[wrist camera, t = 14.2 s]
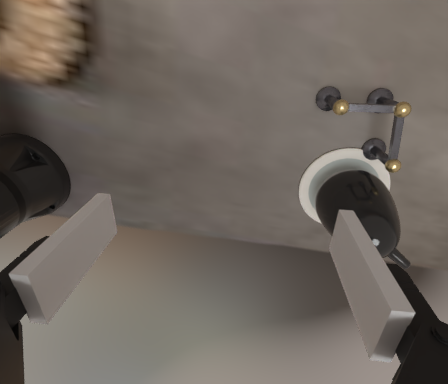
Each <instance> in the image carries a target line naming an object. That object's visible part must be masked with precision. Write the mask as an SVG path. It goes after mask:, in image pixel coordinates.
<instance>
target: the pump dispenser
mask: <svg viewBox="0 0 448 384" xmlns="http://www.w3.org/2000/svg"><path fill="white" fill-rule="evenodd" d="M315 210H316V213H317V216H318V218H319V220H320V221H321V223H322V224H323V226H324V227H325V228H326V230H327V231H328V232H329V233H330V234H331V236H333V232H334V228H335V224H336V219H337V215H338V211H339V210H353V211H354V212H355V214H356V216H357V217H358V219H359V221H360V222H361V224H362V226H363V227H364V229H365V231H366V232H367V234H368V235H369V237H370V239H371V240H372V242H373V244H374V245H375V247H376V249H377V250H378V252H379V254H380V255H381V257H382V258H385V257H387V256H388V257H389V258H390V259H392V260H393V261H394V262H396V263H397V264H398V265H399V266H401V267H402V268H404V269H406V268H408V267H409V266H410V262H409V261H408V260H407V259H406V258H405V257H404V256H403V255H402V254H401V253H400V252H399V251H398V250H397V249H396V247H397V245H398V243H399V240H400V232H401V229H400V220H399V215H398V211H397V208H396V205H395V202H394V200H393V198H392V196H391V194H390V192H389V190H388V188H387V187H386V185H385V184H384V183H383V182H382V181H381V179H379V178H378V177H377V176H376V175H374V174H372V173H370V172H367V171H364V170H352V169H350V170H343V171H339V172H337V173H334V174H333V175H331V176H329V177H328V178H327V179H326V180H325V181H324V182H323V183H322V185H321V186H320V188H319V190H318V192H317V194H316V198H315Z"/></svg>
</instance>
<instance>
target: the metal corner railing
mask: <svg viewBox="0 0 448 384" xmlns="http://www.w3.org/2000/svg"><path fill="white" fill-rule="evenodd" d="M340 99H341V96H340V92H339V91H338V90H337V89H336V88H334V87H325V88H323V89H321V90H320V91H319V92H318V94H317V96H316V103H317V106H318V107H319V108H320V109H322V110H324V111H330V110H333V111H334V113H335V114H337V115H344V114H345V113H347V111H357V112H375V113H381V112H382V113H394V122H393V128H392V135H391V141H390V148H389V154H388V155H387V154H386V153H385V151H386V145H385V143H384V142H383V141H382V140H380V139H377V138H374V139H370V140H368V141H367V142H365V143H364V145H363V147H362V150H363V155H364V157H365V158H367V159H369V160H376V159H378V160H380V161H381V162H382V163H383V164H384V165H385V168H386V170H387V171H388V172H391V173H394V172H397V171H399V170H400V168H401V162H400V161H399V160H397V158H398V153H399V147H400V141H401V135H402V129H403V123H404V117H406V116H407V115H409V114H410V112H411V105H410V104H409V103H407V102H400V103H399V102H396V101H394V100H393V94H392V92H391V91H390V90H388V89H384V88H379V89H376V90H374V91H373V92H372V93H371V94H370V95H369V96H368V99H367V104H358V103H348V102H347V101H346V100H340Z"/></svg>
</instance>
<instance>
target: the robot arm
mask: <svg viewBox="0 0 448 384" xmlns="http://www.w3.org/2000/svg"><path fill="white" fill-rule="evenodd" d="M69 192H70V180H69V176H68V173H67V171H66V169H65V167H64V165H63V163H62V162H61V160H60V159H59V158H58V157H57V155H56V154H55V153H54V152H53V151H52V150H51V149H49V148H48V147H47V146H46V145H44V144H43V143H41V142H40V141H38V140H36V139H34V138H31V137H29V136H25V135H21V134H7V135H3V136H0V238H1V237H3V236H4V235H5V234H7V233H8V232H9V231H11V230H12V229H13V228H15V227H16V226H17V225H19V224H20V223H22V222H25V221H28V220H31V219H34V218H37V217H41V216H44V215H47V214H50V213H52V212H53V211H55V210H56V209H57V208H59V207H60V206H61V205H62V204H63V203H64V202H65V201H66V200H67V198H68V196H69ZM116 234H117V227H116V222H115V217H114V212H113V206H112V201H111V196H110V194H103V193H97V194H96V195H95V196H94V197H93V198H92V199H91V200H90V201H88V202H87V203H86V204H85V205H84V206H83V207H82V208H81V209H80V210H78V211H77V212H76V213H75V214H74V215H73V216H72V217H71V218H70V219H69V220H67V221H66V222H65V223H64V224H63V225H62V226H61V227H60V228H59V229H58V230H56V231H55V232H54V233H53V234H52V235H51V236H46V237H44V238H42V239H40V240H38V241H36V242H34V243H33V244H32V245H31V246H30V247H29V248H28V249H27V250H26V251H24V252H23V253H22V254H21V255H20V257H17V258H16V259H15V260H14V261H13V262H11V263H10V264H9V265H8V266H7V267H6V268H5V269H3V270H2V271H1V272H0V384H24V362H23V337H22V325H21V322H20V320H21V318H22V317H23V316H24V315H25V314H26V313H27V316H28V318H29V320H30V322H32V323H40V324H48V323H49V322H50V321H51V319H52V318H53V317H54V315H55V314H56V313H57V311H58V310H59V309H60V307H61V306H62V305H63V303H64V302H65V301H66V299H67V298H68V297H69V296H70V294H71V293H72V292H73V290H74V289H75V288H76V286H77V285H78V284H79V282H80V281H81V279H82V278H83V277H84V276H85V274H86V273H87V272H88V270H89V269H90V268H91V267H92V265H93V264H94V263H95V261H96V260H97V259H98V257H99V256H100V255H101V253H102V252H103V251H104V249H105V248H106V247H107V245H108V244H109V243H110V241H111V240H112V239H113V237H114V236H115V235H116ZM329 250H330V253H331V255H332V258H333V261H334V264H335V266H336V269H337V272H338V275H339V277H340V280H341V283H342V285H343V288H344V291H345V294H346V296H347V299H348V302H349V304H350V307H351V310H352V312H353V315H354V318H355V321H356V323H357V326H358V329H359V331H360V334H361V337H362V340H363V342H364V345H365V348H366V351H367V353H368V356H369V359H370V360H375V361H383V362H391V361H392V359H393V357H394V355H395V353H396V354H397V356H398V358H399V360H400V363H401V364H400V366H399V368H398V370H397V372H396V374H395V376H394V377H393V379H392V380H393V381H392V383H391V384H448V324H446V323H444V322H441V321H440V320H439V319H438V318H437V316H436V315H435V313H434V312H433V310H432V309H431V307H430V306H429V304H428V303H427V301H426V300H425V299H424V297H423V295H422V294H421V293H420V292H419V290H418V288H417V287H416V285H415V284H414V283H413V281H412V279H411V278H410V276H409V275H408V273H407V272H405V271H404V270H403V269H402V268H401V267H399V266H398V265H397V264H387V263H385V262H384V260H383V259H382V257H381V255H380V254H379V252H378V250H377V249H376V247H375V245H374V244H373V242H372V240H371V239H370V237H369V235H368V234H367V232H366V231H365V229H364V227H363V226H362V224H361V222H360V221H359V219H358V217H357V216H356V214H355V212H354V211H353V210H339V211H338V215H337V219H336V224H335V228H334V232H333V236H332V240H331V244H330V248H329Z"/></svg>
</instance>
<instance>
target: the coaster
mask: <svg viewBox="0 0 448 384" xmlns="http://www.w3.org/2000/svg"><path fill="white" fill-rule="evenodd" d="M350 169H352V170H364V171H367V172H370V173H372V174H374V175H376V176H377V177H378V178H379V179H381V181H382V182H383V183H384V184H385V185H386V187H387V188H388V190H389V189H390V176H389V172H388V171H387V170H386V168H385V165H384V164H383V163H382V162H381V161H380V160H378V159H376V160H369V159H367V158H365V157H364V155H363V150H362V149H359V148H340V149H336V150H333V151H330V152H327V153H325V154H323V155H322V156H320V157H319V158H317V159H316V160H315V161H313V162H312V163H311V164H310V165H309V166H308V168H307V169H306V170H305V172H304V174H303V175H302V178H301V180H300V184H299V199H300V202H301V205H302V207H303V209H304V211H305V212H306V213H307V214H308V215H309V216H310V217H311V218H312V219H314V220H315V221H317V222H319V223H321V221H320V220H319V218H318V216H317V213H316V210H315V198H316V194H317V192H318V190H319V188H320V186H321V185H322V183H323V182H324V181H325V180H326V179H327V178H328V177H329V176H331V175H333V174H334V173H337V172H339V171H343V170H350Z"/></svg>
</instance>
